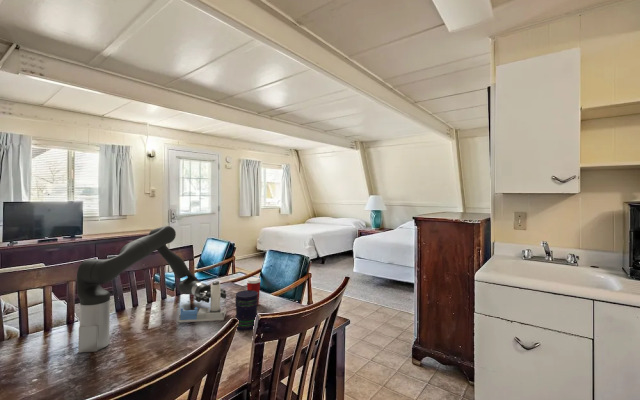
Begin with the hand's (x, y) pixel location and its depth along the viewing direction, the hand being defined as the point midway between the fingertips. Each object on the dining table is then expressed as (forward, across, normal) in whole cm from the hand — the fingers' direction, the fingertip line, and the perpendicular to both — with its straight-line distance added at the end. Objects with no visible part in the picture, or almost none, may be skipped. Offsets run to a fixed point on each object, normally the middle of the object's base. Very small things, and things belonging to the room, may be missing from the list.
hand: (217, 298), depth 143 cm
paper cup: (-4, +23, +10) cm, 25 cm away
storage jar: (+18, +5, +10) cm, 21 cm away
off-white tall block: (-2, 0, +8) cm, 9 cm away
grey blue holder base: (-5, -4, +10) cm, 12 cm away
